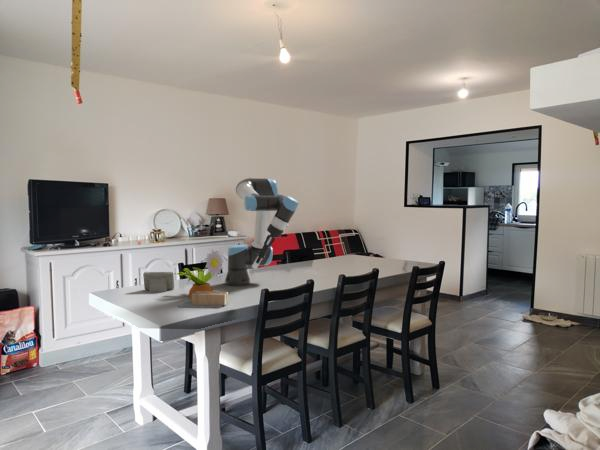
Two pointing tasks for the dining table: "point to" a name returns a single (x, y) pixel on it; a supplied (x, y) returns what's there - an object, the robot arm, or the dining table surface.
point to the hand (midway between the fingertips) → (254, 268)
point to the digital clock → (158, 281)
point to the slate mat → (189, 304)
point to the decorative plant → (200, 283)
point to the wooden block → (209, 298)
